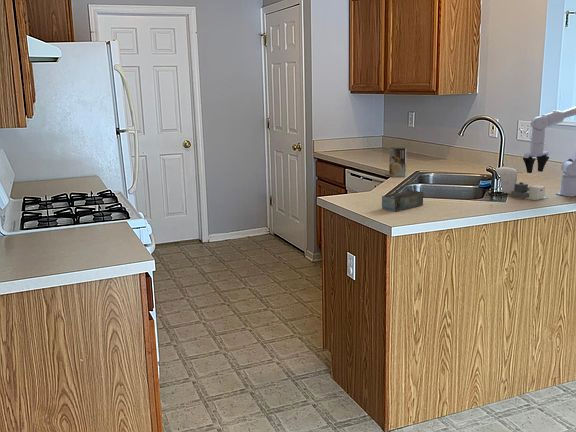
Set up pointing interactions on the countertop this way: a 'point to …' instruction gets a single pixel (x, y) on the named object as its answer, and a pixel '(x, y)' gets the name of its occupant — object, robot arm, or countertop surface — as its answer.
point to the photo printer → (507, 178)
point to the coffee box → (397, 162)
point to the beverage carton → (402, 200)
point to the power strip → (520, 195)
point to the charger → (536, 192)
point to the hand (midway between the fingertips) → (534, 172)
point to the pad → (535, 198)
